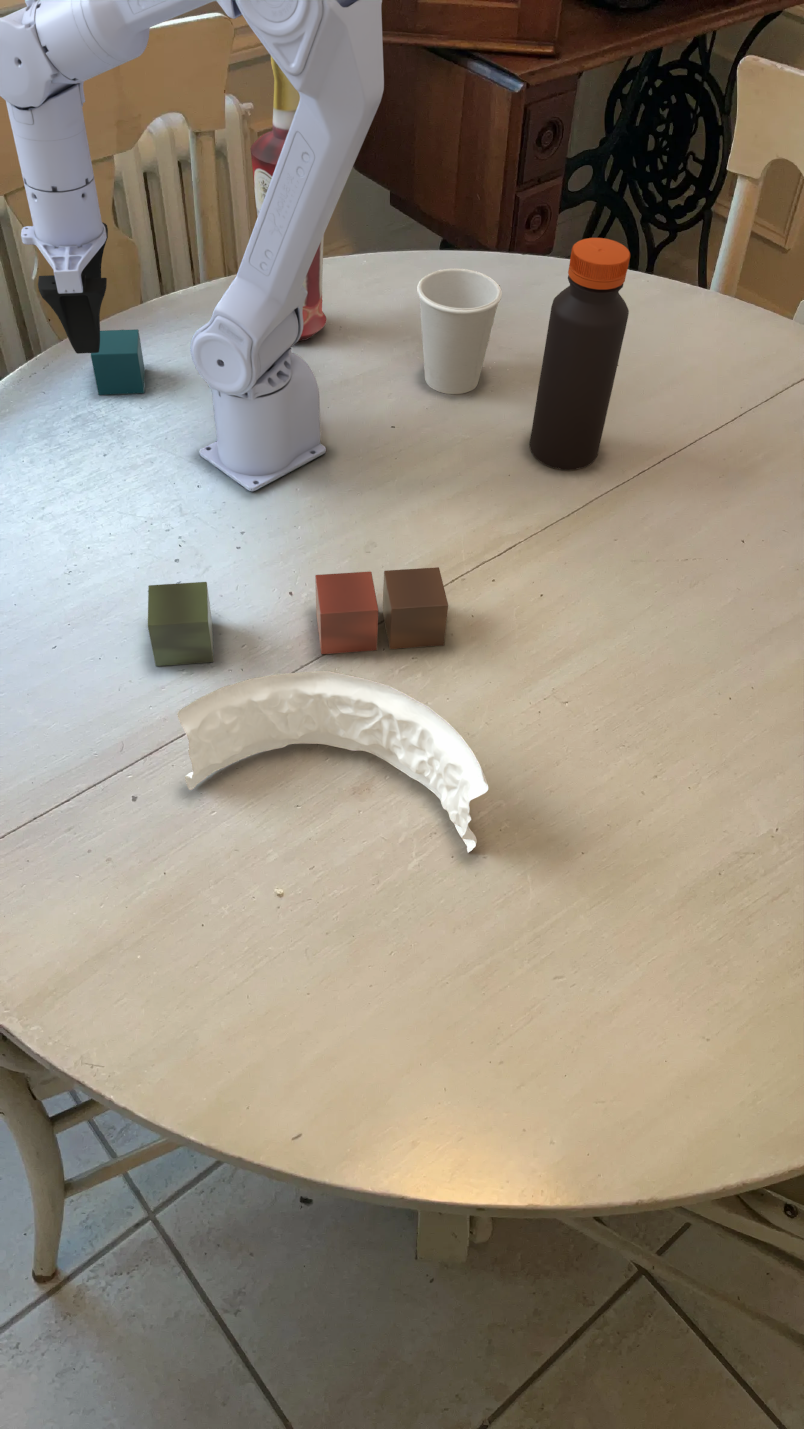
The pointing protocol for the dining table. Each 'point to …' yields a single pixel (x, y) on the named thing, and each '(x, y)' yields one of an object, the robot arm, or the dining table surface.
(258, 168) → the liquor
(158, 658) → the block row
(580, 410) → the bottle
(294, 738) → the curved plaster moulding
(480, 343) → the dixie cup
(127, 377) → the teal block
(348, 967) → the dining table surface
